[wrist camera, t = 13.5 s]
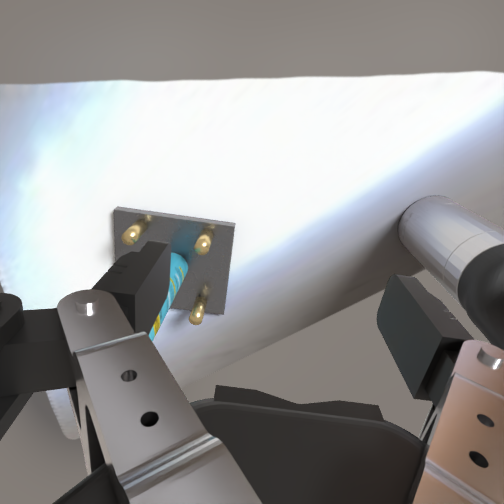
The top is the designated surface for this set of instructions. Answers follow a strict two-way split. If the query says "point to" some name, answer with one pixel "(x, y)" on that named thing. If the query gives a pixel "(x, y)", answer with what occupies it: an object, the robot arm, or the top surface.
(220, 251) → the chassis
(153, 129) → the top surface
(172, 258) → the tube
